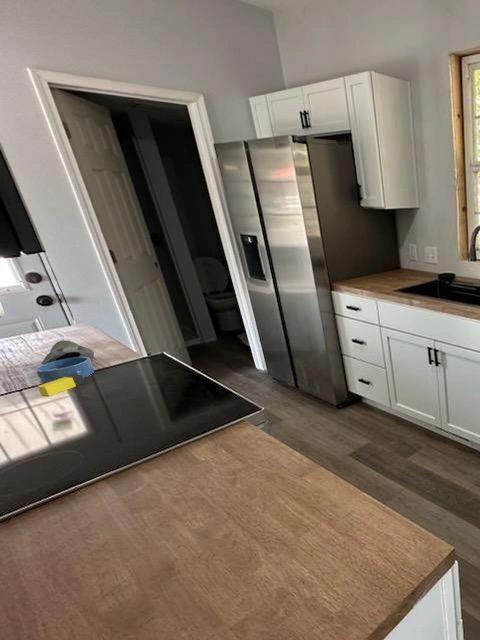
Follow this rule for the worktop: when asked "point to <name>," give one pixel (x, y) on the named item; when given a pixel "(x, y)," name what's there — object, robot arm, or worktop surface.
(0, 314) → the robot arm
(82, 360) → the bowl
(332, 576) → the worktop surface
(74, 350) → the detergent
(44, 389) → the block
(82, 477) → the worktop surface
